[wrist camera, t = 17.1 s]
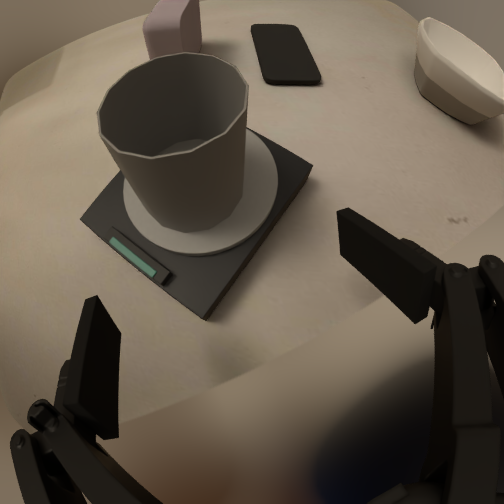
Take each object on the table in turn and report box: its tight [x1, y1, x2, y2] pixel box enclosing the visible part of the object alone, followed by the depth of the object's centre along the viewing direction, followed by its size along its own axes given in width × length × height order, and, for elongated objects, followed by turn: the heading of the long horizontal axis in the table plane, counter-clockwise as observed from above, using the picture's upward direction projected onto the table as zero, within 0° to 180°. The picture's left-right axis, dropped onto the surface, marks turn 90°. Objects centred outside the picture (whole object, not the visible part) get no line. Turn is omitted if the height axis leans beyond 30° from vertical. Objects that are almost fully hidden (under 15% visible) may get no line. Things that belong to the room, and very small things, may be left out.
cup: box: [97, 52, 249, 233], centre depth 19 cm, size 8×8×10 cm
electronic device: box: [143, 0, 202, 60], centre depth 28 cm, size 10×5×10 cm, turn 176°
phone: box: [251, 24, 321, 84], centre depth 34 cm, size 7×1×15 cm
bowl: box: [414, 17, 504, 125], centre depth 30 cm, size 18×18×9 cm
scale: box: [80, 127, 313, 321], centre depth 25 cm, size 16×14×4 cm
